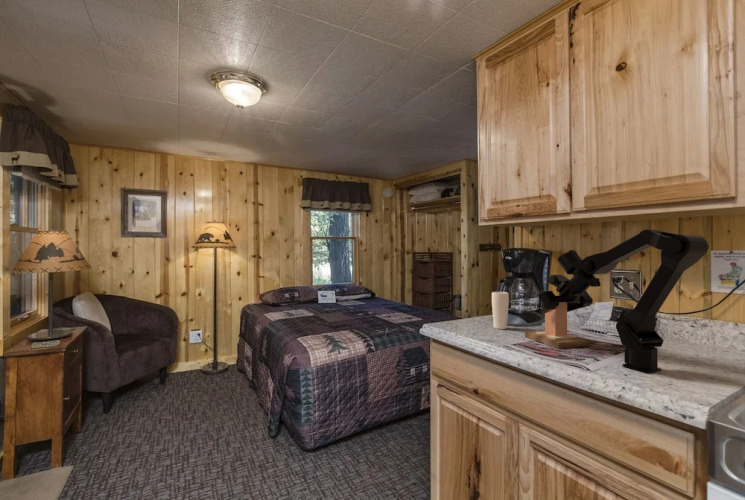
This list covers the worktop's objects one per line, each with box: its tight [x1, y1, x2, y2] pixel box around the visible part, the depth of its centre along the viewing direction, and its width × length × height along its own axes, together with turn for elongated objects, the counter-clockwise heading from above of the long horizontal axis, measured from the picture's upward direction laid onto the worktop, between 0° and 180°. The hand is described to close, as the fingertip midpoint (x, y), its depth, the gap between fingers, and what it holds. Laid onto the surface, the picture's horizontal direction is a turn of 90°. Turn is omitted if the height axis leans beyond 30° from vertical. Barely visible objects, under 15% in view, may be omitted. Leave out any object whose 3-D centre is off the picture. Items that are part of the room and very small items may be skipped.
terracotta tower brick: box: [544, 302, 568, 336], centre depth 125 cm, size 5×5×13 cm
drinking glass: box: [491, 291, 510, 330], centre depth 146 cm, size 7×7×15 cm
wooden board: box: [524, 329, 590, 349], centre depth 125 cm, size 16×13×2 cm
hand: (552, 312), depth 126 cm, fingers open, 9 cm apart
